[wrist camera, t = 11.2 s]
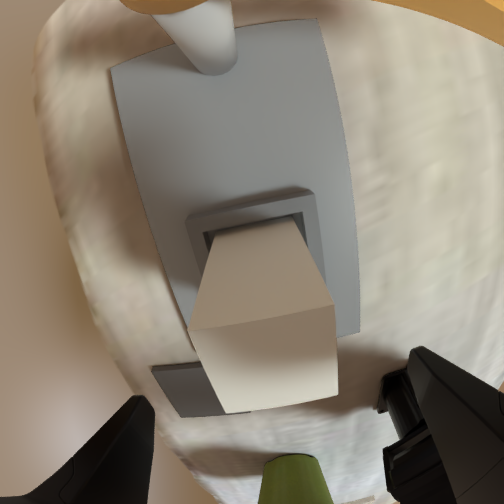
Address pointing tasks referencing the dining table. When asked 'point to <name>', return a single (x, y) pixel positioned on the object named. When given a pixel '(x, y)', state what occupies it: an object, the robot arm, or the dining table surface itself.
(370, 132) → the dining table surface
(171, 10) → the bar
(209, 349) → the plug
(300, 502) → the plant pot
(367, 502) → the book
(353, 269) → the socket board
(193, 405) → the rubber pad
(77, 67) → the dining table surface
